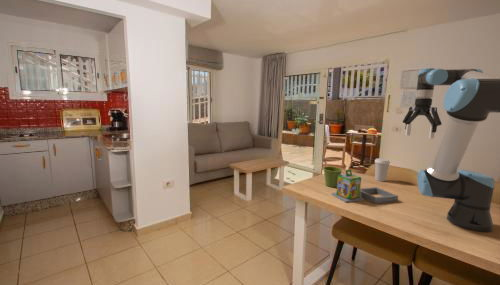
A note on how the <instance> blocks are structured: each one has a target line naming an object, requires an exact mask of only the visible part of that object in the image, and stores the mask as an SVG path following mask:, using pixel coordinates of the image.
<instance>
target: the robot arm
mask: <svg viewBox="0 0 500 285" xmlns="http://www.w3.org/2000/svg"><path fill="white" fill-rule="evenodd" d="M435 86H449V87H448V88H447V90H446V92H445V94H444V97H443V108H444V110H445V111H446V115H447V116H448V117H449V118H448V121H447V124H446V127H445V128H444V131H443V134H442V137H441V139H440V142H439V145H438V148H437V151H436V152H435V155H434V158H433V160H432V163H428V164H427V165H426V167H425V169H420V170H418V172H417V187H418V190H419V193H420V194H421V195H422V196H425V197H430V198H438V199H440V198H441V199H448V200H454V202H453V204H452V205H451V207H450V208H449V210H448V212H447V214H446V220H448V222H450V223H452V224H454V225H455V226H457V227H461V228H464V229H466V230H471V231H476V232H485V233H487V232H488V233H489V232H492V231H493V229H494V221H493V218H492V214H491V207H492V201H493V194H494V189H495V181H496V180H495V179H494V178H493V176H490V175H487V174H484V173H481V172H476V171H472V170H467V169H459V170H458V168H459V167H460V164H461V163H462V160H463V158H464V155H465V154H466V151H467V149H468V147H469V145H470V142H471V140H472V139H473V136H474V133H475V132H476V129H477V128H478V125H479V123H483V122H485V121H486V120H487V119H488V117H489V114H490V113H496V114H497V113H500V77H499V76H496V75H491V74H487V73H484V72H483V70H482V69H480V68H479V69H478V68H464V69H463V68H462V69H461V68H460V69H459V68H458V69H444V68H432V67H429V68H428V67H427V68H426V67H425V68H421V69H420V70H419V71H418V74H417V84H416V92H415V100H414V106H410V107H409V108H408V111H407V112H406V115H405V116H404V118H403V120H402V123H403V124H405V128H404V129H405V135H404V136H407V137H408V136H411V130H412V124H411V123H412V122H414V120H415V119H416V118H417V117H418V116H425V117H426V119H427V120H428V122H429V123H430V128H429V134H428V139H433V140H434V138H435V134H436V133H437V128H438V127H439V126H442V122H441V118H440V116H439V115H440V114H438V107H436V106H432V104H433V95H434V90H435Z"/></svg>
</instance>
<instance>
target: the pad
mask: <svg viewBox="0 0 500 285" xmlns="http://www.w3.org/2000/svg"><path fill="white" fill-rule="evenodd" d="M336 193H337V192H332V193H331V195H332V196H333V197H335V198H336V199H339V200H340V201H342V202H343V203H354V202H360V201H361V202H363V201H365V198H363V197H361V196H360V197H357V198H353V199H347V198H345V197H342V196H339V195H336Z"/></svg>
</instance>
